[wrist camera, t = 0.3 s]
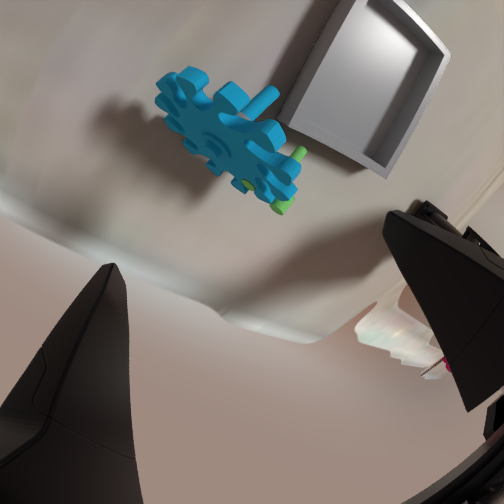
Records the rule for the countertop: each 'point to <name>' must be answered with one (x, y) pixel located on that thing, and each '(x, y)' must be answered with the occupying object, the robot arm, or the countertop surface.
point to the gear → (232, 134)
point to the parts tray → (367, 81)
